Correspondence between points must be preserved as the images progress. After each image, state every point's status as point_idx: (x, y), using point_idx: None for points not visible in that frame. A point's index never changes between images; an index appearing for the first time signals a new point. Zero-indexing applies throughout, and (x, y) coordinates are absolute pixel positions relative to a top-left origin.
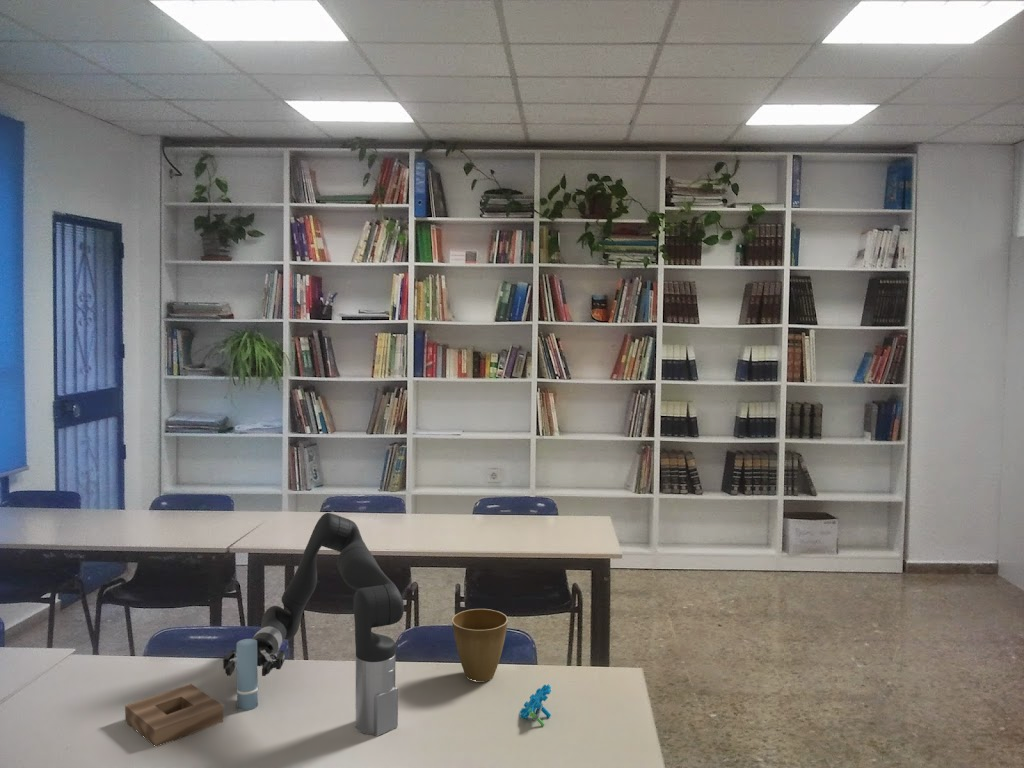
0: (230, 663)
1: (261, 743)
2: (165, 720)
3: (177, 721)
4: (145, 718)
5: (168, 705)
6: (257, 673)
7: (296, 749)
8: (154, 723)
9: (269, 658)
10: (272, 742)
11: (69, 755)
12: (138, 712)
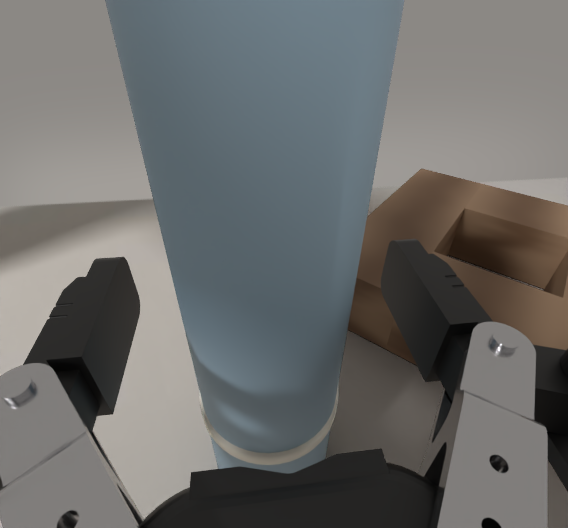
0: (448, 286)
1: (147, 237)
2: (436, 190)
3: (397, 190)
4: (504, 193)
5: (558, 283)
6: (188, 344)
7: (48, 226)
8: (451, 181)
9: (23, 442)
10: (115, 242)
11: (555, 185)
12: (566, 209)
